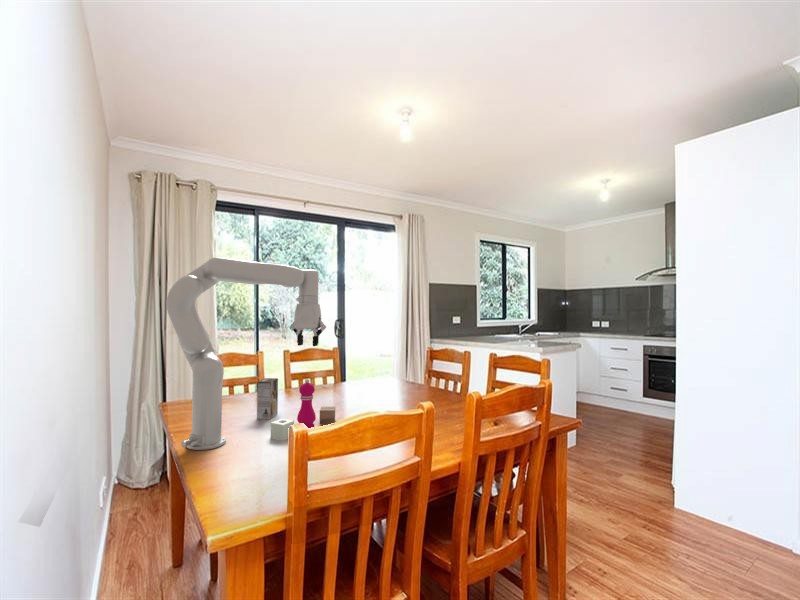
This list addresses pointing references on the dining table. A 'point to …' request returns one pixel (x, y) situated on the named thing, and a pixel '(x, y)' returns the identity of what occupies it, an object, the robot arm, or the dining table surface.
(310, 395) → the pepper mill
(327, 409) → the walnut cube
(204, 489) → the dining table surface
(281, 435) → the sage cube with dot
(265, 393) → the coffee box
